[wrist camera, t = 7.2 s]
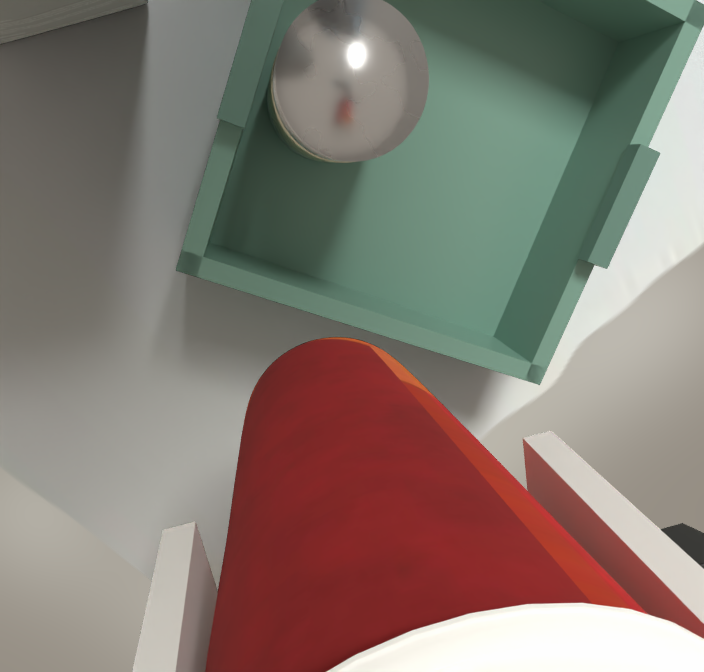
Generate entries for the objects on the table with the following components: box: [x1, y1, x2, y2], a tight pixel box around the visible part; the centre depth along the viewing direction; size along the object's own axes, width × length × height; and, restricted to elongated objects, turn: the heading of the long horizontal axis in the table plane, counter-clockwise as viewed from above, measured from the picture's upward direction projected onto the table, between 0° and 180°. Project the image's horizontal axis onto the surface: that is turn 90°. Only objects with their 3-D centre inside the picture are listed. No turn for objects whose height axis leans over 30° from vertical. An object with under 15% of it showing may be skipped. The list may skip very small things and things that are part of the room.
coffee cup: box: [205, 337, 704, 672], centre depth 13 cm, size 8×8×15 cm
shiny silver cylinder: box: [267, 0, 429, 163], centre depth 27 cm, size 6×6×9 cm
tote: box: [176, 0, 704, 385], centre depth 30 cm, size 20×20×7 cm
